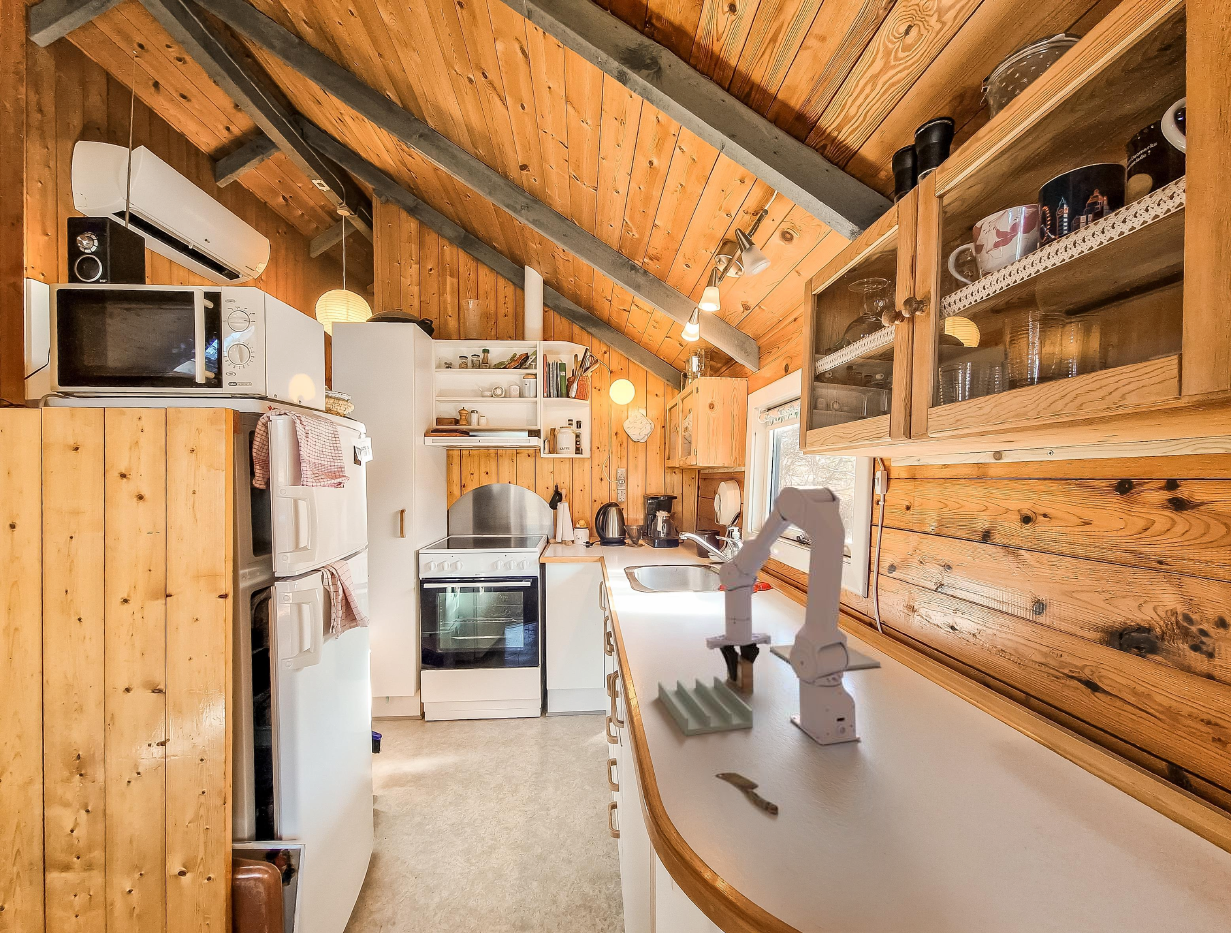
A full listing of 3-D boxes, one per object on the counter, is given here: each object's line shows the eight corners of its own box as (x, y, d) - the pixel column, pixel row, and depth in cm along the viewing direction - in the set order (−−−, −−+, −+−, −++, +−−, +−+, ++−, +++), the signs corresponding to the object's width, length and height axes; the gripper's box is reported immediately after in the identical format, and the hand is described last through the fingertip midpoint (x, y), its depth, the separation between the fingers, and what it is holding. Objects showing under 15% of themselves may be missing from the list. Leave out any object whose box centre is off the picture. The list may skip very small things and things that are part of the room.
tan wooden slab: (753, 692, 102) (753, 664, 103) (743, 693, 102) (742, 665, 102) (736, 677, 110) (735, 651, 110) (726, 678, 110) (726, 652, 110)
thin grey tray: (769, 646, 128) (836, 640, 132) (770, 652, 128) (836, 646, 132) (806, 669, 112) (880, 662, 116) (806, 676, 112) (880, 668, 116)
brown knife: (738, 768, 77) (709, 775, 75) (737, 760, 77) (709, 767, 75) (784, 813, 65) (752, 822, 64) (784, 804, 66) (752, 813, 64)
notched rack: (752, 726, 88) (752, 710, 88) (685, 735, 85) (685, 718, 85) (716, 690, 104) (715, 675, 104) (658, 696, 101) (658, 681, 101)
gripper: (759, 609, 112) (760, 668, 112) (700, 614, 109) (701, 674, 108) (775, 618, 105) (776, 681, 105) (713, 623, 102) (714, 687, 102)
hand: (739, 678), depth 106 cm, fingers closed on tan wooden slab, 2 cm apart
